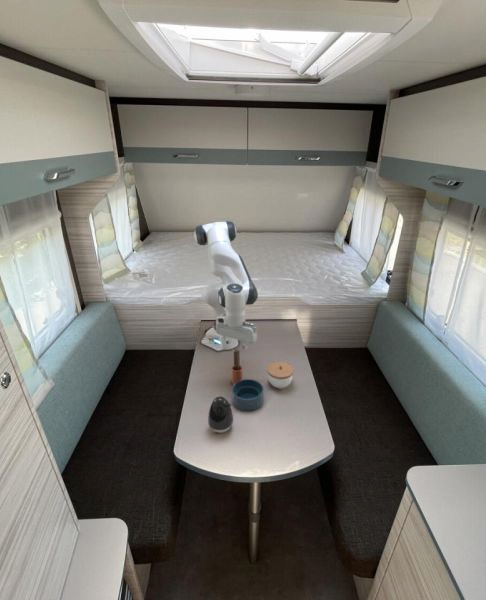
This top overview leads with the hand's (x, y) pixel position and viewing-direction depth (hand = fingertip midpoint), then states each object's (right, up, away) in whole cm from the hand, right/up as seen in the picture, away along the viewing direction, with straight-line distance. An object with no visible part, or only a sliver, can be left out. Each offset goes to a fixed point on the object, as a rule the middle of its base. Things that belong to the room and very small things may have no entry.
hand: (236, 346), depth 152 cm
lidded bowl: (+21, -20, +8) cm, 30 cm away
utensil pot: (0, -20, +9) cm, 21 cm away
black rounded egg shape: (-5, -31, -18) cm, 36 cm away
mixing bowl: (+5, -25, -3) cm, 26 cm away
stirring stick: (0, -19, +8) cm, 21 cm away
